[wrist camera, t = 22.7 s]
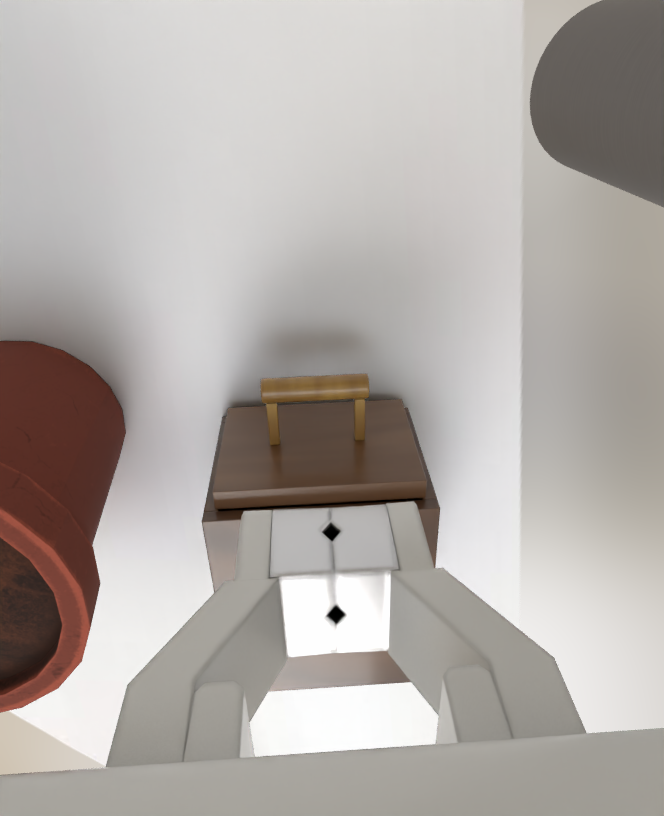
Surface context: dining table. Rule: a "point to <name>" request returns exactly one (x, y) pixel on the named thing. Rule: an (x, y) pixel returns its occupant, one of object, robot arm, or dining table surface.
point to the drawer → (317, 448)
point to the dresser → (323, 667)
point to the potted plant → (50, 512)
